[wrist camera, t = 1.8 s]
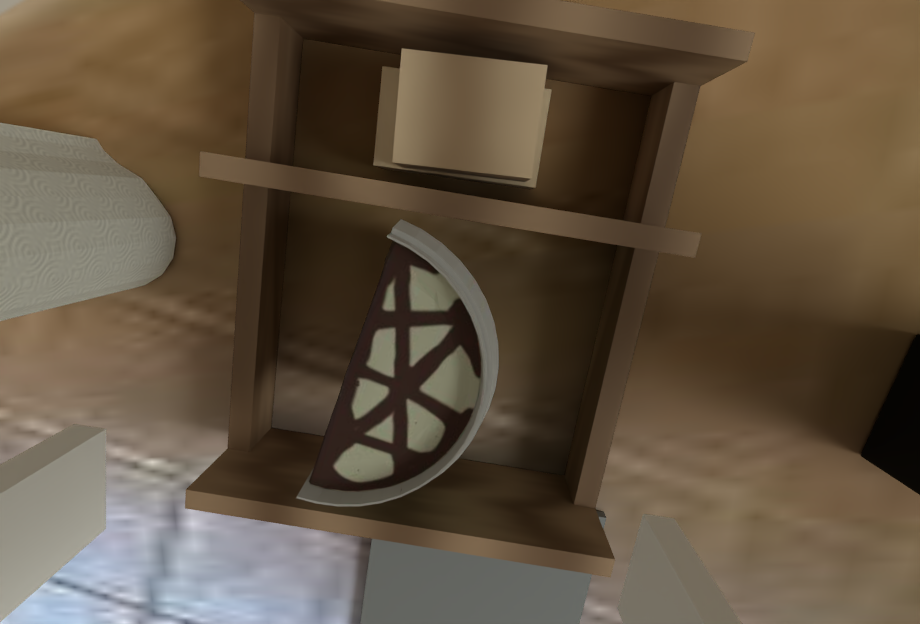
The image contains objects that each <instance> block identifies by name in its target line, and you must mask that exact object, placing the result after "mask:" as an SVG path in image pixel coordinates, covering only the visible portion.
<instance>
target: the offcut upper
mask: <svg viewBox="0 0 920 624" xmlns="http://www.w3.org/2000/svg"><path fill="white" fill-rule="evenodd" d="M547 66H548V65H541V64H533V63H524V62H515V61H507V60H498V59H489V58H481V57H472V56H464V55H455V54H446V53H438V52H429V51H420V50H412V49H403V48H402V51H401V63H400V75H399V87H398V99H397V112H396V124H395V136H394V148H393V160H392V162H393V163H395V164H397V165H398V166H400V167H402V168H410V169H418V170H427V171H435V172H444V173H452V174H461V175H469V176H478V177H486V178H495V179H503V180H512V181H520V182H526V181H528V180H530V179H532V172H533V165H534V158H535V151H536V144H537V137H538V130H539V123H540V116H541V109H542V102H543V94H544V87H545V80H546V73H547Z"/></svg>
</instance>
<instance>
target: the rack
mask: <svg viewBox="0 0 920 624" xmlns="http://www.w3.org/2000/svg"><path fill="white" fill-rule="evenodd" d="M240 1H241V2H243V3H244V4H245V5H246V6H247V7H248V8H250V9H251V10H252V11H253V12H254V27H253V44H252V60H251V76H250V93H249V109H248V125H247V142H246V158H239V157H233V156H227V155H221V154H215V153H209V152H202V151H200V164H199V176H200V177H206V178H212V179H218V180H224V181H230V182H236V183H242V184H244V190H243V207H242V223H241V239H240V256H239V272H238V288H237V305H236V321H235V337H234V354H233V370H232V386H231V403H230V419H229V435H228V449H227V450H226V451H225V452H224V453H223V454H222V455H221V456H220V457H219V458H218V459H217V460H216V461H215V462H214V463H213V464H212V465H211V466H210V467H209V468H207V469H206V470H205V471H204V472H203V473H202V474H201V475H200V476H199V477H198V478H197V479H196V480H195V481H194V482H193V483H192V484H191V485H190V486H189V487H188V488H187V489H186V501H185V508H187V509H193V510H199V511H205V512H212V513H218V514H224V515H230V516H236V517H242V518H248V519H255V520H261V521H267V522H273V523H279V524H285V525H292V526H298V527H304V528H310V529H316V530H322V531H328V532H335V533H341V534H347V535H353V536H359V537H365V538H371V539H378V540H384V541H390V542H396V543H402V544H408V545H414V546H421V547H427V548H433V549H439V550H445V551H451V552H458V553H464V554H470V555H476V556H482V557H488V558H494V559H501V560H507V561H513V562H519V563H525V564H531V565H537V566H544V567H550V568H556V569H562V570H568V571H574V572H581V573H587V574H593V575H599V576H605V577H611V573H612V569H613V565H614V561H615V558H614V556H613V553H612V550H611V548H610V545H609V543H608V540H607V538H606V535H605V532H604V530H603V527H602V525H601V522H600V520H599V517H598V514H597V512H596V509H595V507H596V503H597V499H598V495H599V491H600V487H601V483H602V479H603V475H604V471H605V467H606V463H607V459H608V455H609V451H610V447H611V443H612V439H613V435H614V431H615V427H616V423H617V419H618V415H619V411H620V407H621V403H622V399H623V395H624V391H625V387H626V383H627V379H628V375H629V371H630V367H631V363H632V359H633V355H634V351H635V347H636V342H637V338H638V334H639V330H640V326H641V322H642V318H643V314H644V310H645V306H646V302H647V298H648V294H649V290H650V286H651V282H652V278H653V274H654V270H655V266H656V262H657V258H658V254H659V252H663V253H669V254H675V255H681V256H687V257H693V258H695V257H696V253H697V249H698V245H699V242H700V238H701V234H702V233H696V232H690V231H684V230H677V229H671V228H665V226H666V222H667V218H668V214H669V210H670V206H671V202H672V198H673V194H674V190H675V186H676V182H677V178H678V174H679V170H680V166H681V162H682V158H683V154H684V150H685V146H686V142H687V138H688V133H689V129H690V125H691V121H692V117H693V113H694V109H695V105H696V101H697V97H698V93H699V89H700V86H701V85H703V84H705V83H707V82H709V81H711V80H713V79H715V78H717V77H719V76H721V75H722V74H724V73H726V72H728V71H730V70H732V69H734V68H736V67H738V66H740V65H742V64H743V63H745V62H747V61H748V57H749V53H750V50H751V46H752V42H753V38H754V35H755V33H754V32H748V31H742V30H736V29H730V28H724V27H718V26H712V25H706V24H700V23H694V22H688V21H682V20H676V19H670V18H664V17H657V16H651V15H645V14H639V13H633V12H627V11H621V10H615V9H609V8H603V7H597V6H591V5H585V4H579V3H573V2H567V1H561V0H240ZM303 39H309V40H315V41H322V42H328V43H334V44H340V45H346V46H352V47H358V48H364V49H370V50H376V51H382V52H388V53H394V54H400V55H401V51H402V48H403V49H412V50H420V51H429V52H438V53H446V54H455V55H464V56H472V57H481V58H489V59H498V60H507V61H515V62H524V63H533V64H541V65H548V66H547V73H546V79H552V80H558V81H564V82H570V83H576V84H582V85H589V86H595V87H601V88H607V89H613V90H619V91H625V92H631V93H637V94H643V95H649V96H651V100H650V105H649V109H648V114H647V118H646V122H645V127H644V131H643V135H642V140H641V144H640V148H639V153H638V157H637V161H636V166H635V170H634V175H633V179H632V183H631V188H630V192H629V196H628V201H627V205H626V209H625V214H624V218H623V220H617V219H610V218H604V217H598V216H592V215H586V214H580V213H574V212H568V211H562V210H556V209H550V208H543V207H537V206H531V205H525V204H519V203H513V202H507V201H501V200H495V199H489V198H483V197H476V196H470V195H464V194H458V193H452V192H446V191H440V190H434V189H428V188H422V187H416V186H409V185H403V184H397V183H391V182H385V181H379V180H373V179H367V178H361V177H355V176H349V175H343V174H336V173H330V172H324V171H318V170H312V169H306V168H300V167H294V166H293V156H294V144H295V131H296V119H297V107H298V95H299V82H300V70H301V58H302V46H303ZM290 192H297V193H303V194H309V195H316V196H322V197H328V198H334V199H340V200H346V201H352V202H358V203H364V204H370V205H376V206H383V207H389V208H395V209H401V210H407V211H413V212H419V213H425V214H431V215H437V216H443V217H450V218H456V219H462V220H468V221H474V222H480V223H486V224H492V225H498V226H504V227H511V228H517V229H523V230H529V231H535V232H541V233H547V234H553V235H559V236H565V237H571V238H578V239H584V240H590V241H596V242H602V243H608V244H614V245H617V249H616V253H615V257H614V262H613V266H612V270H611V275H610V279H609V284H608V288H607V292H606V297H605V301H604V305H603V310H602V314H601V318H600V323H599V327H598V331H597V336H596V340H595V345H594V349H593V353H592V358H591V362H590V366H589V371H588V375H587V379H586V384H585V388H584V392H583V397H582V401H581V406H580V410H579V414H578V419H577V423H576V427H575V432H574V436H573V440H572V445H571V449H570V453H569V458H568V462H567V467H566V471H565V475H564V476H563V475H557V474H551V473H544V472H538V471H532V470H526V469H520V468H514V467H508V466H502V465H495V464H489V463H483V462H477V461H471V460H465V459H459V458H458V459H457V460H456V461H455V462H454V463H453V464H452V465H451V466H450V467H449V468H447V469H446V470H445V471H444V472H443V473H442V474H440V475H439V476H437V477H436V478H434V479H433V480H431V481H430V482H428V483H427V484H425V485H424V486H422V487H421V488H419V489H417V490H415V491H413V492H411V493H408V494H406V495H404V496H402V497H399V498H396V499H393V500H390V501H386V502H383V503H379V504H372V505H365V506H331V505H323V504H316V503H312V502H309V501H305V500H302V499H298V498H297V495H298V494H299V492H300V490H301V489H302V487H303V485H304V483H305V482H306V480H307V478H308V476H309V475H310V473H311V471H312V469H313V468H314V465H315V462H316V459H317V456H318V453H319V450H320V448H321V445H322V442H323V439H324V436H318V435H311V434H305V433H299V432H293V431H287V430H281V429H275V428H271V425H272V413H273V400H274V388H275V376H276V364H277V351H278V339H279V327H280V315H281V303H282V290H283V278H284V266H285V254H286V241H287V229H288V217H289V205H290Z"/></svg>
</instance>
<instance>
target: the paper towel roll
mask: <svg viewBox="0 0 920 624" xmlns="http://www.w3.org/2000/svg"><path fill="white" fill-rule="evenodd" d="M175 242H176V235H175V231H174V227H173V223H172V219H171V216H170V215H169V214H168V212H167V211H166V209H165V208H164V206H163V205H162V204H161V202H160V201H159V199H158V198H157V197H156V196H155V194H154V193H153V192H152V190H151V189H150V188H149V186H148V185H147V184H146V183H145V181H144V180H143V179H142V178H141V177H139V176H137V175H136V174H134V173H132V172H131V171H129V170H128V169H126V168H124V167H123V166H121V165H120V164H118V163H117V162H116V161H115V160H114V159H113V158H112V157H110V156H109V155H108V154H107V153H106V152H105V151H104V150H103V148H102V147H101V145H100V144H99V142H98V141H97V139H94V138H88V137H82V136H76V135H70V134H64V133H59V132H53V131H47V130H41V129H35V128H29V127H23V126H17V125H11V124H5V123H0V321H2V320H6V319H10V318H14V317H18V316H23V315H27V314H31V313H35V312H39V311H43V310H47V309H51V308H55V307H59V306H63V305H67V304H71V303H75V302H79V301H83V300H87V299H91V298H95V297H99V296H103V295H108V294H112V293H116V292H120V291H124V290H128V289H132V288H136V287H140V286H144V285H146V284H148V283H149V282H151V281H153V280H154V279H156V278H158V277H159V276H161V275H162V274H163V273H164V271H165V270H166V268H167V267H168V265H169V264H170V262H171V260H172V259H173V256H174V249H175Z"/></svg>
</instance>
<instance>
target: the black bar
mask: <svg viewBox="0 0 920 624" xmlns="http://www.w3.org/2000/svg"><path fill="white" fill-rule="evenodd" d="M861 456H862V457H863V458H865V459H866V460H868V461H869V462H871V463H872V464H874V465H875V466H877V467H878V468H880V469H881V470H883V471H884V472H886V473H887V474H889V475H891V476H892V477H894V478H895V479H897V480H898V481H900V482H901V483H903V484H904V485H906V486H907V487H909V488H910V489H912V490H913V491H915V492H916V493H918V494H919V495H920V335H916V337H915V339H914V341H913V344H912V346H911V348H910V350H909V352H908V354H907V357H906V359H905V361H904V363H903V365H902V367H901V369H900V372H899V374H898V376H897V378H896V380H895V382H894V385H893V387H892V389H891V391H890V393H889V395H888V398H887V400H886V402H885V404H884V406H883V408H882V411H881V413H880V415H879V417H878V419H877V421H876V424H875V426H874V428H873V430H872V432H871V434H870V437H869V439H868V441H867V443H866V445H865V447H864V449H863V452H862V454H861Z"/></svg>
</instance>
